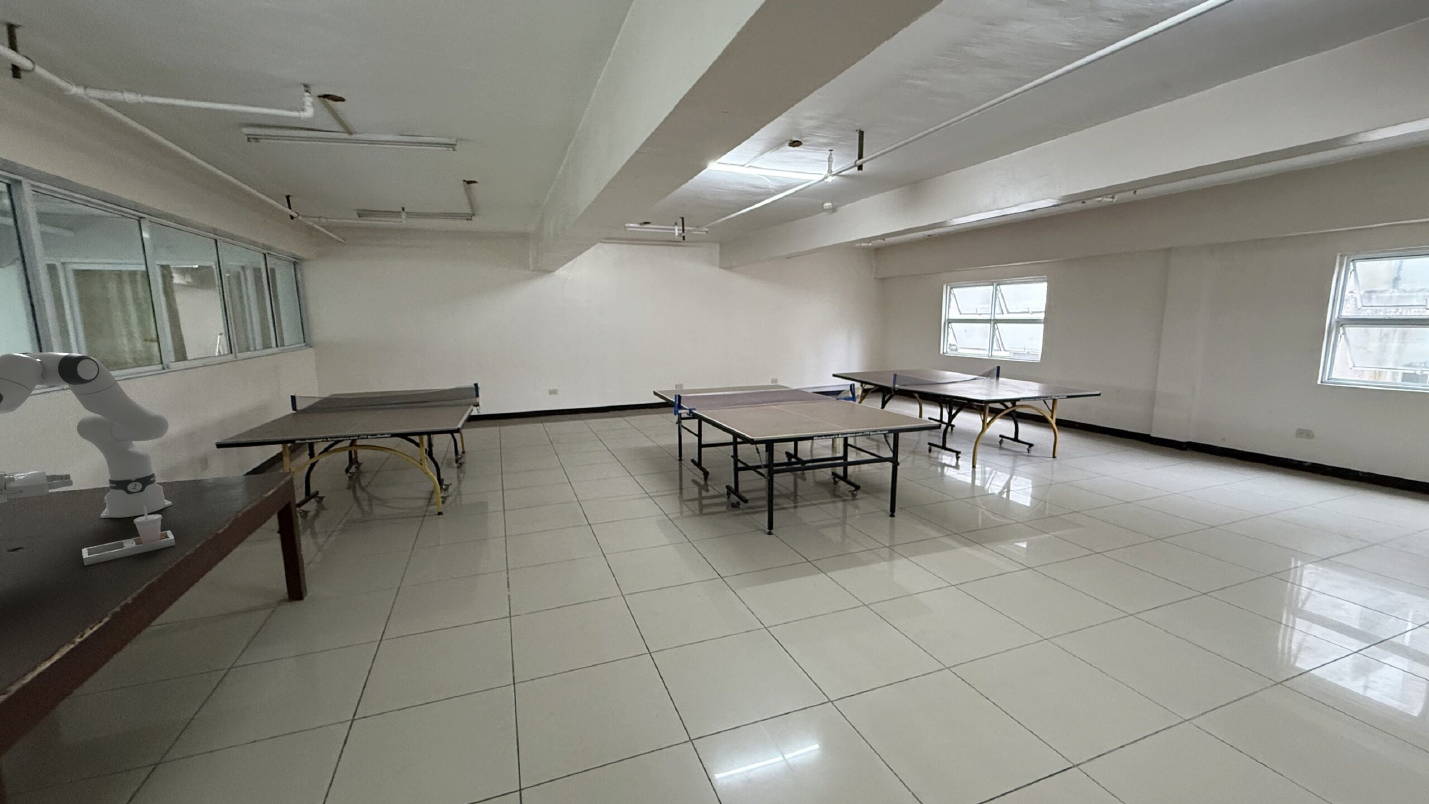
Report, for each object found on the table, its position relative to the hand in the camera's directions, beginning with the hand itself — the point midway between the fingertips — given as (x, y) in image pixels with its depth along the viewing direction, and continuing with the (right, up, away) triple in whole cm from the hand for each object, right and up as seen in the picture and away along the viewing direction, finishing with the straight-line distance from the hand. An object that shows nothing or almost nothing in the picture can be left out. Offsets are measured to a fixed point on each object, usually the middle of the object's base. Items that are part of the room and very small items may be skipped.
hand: (71, 479), depth 162 cm
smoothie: (+12, -24, +12) cm, 29 cm away
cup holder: (+8, -25, +9) cm, 27 cm away
